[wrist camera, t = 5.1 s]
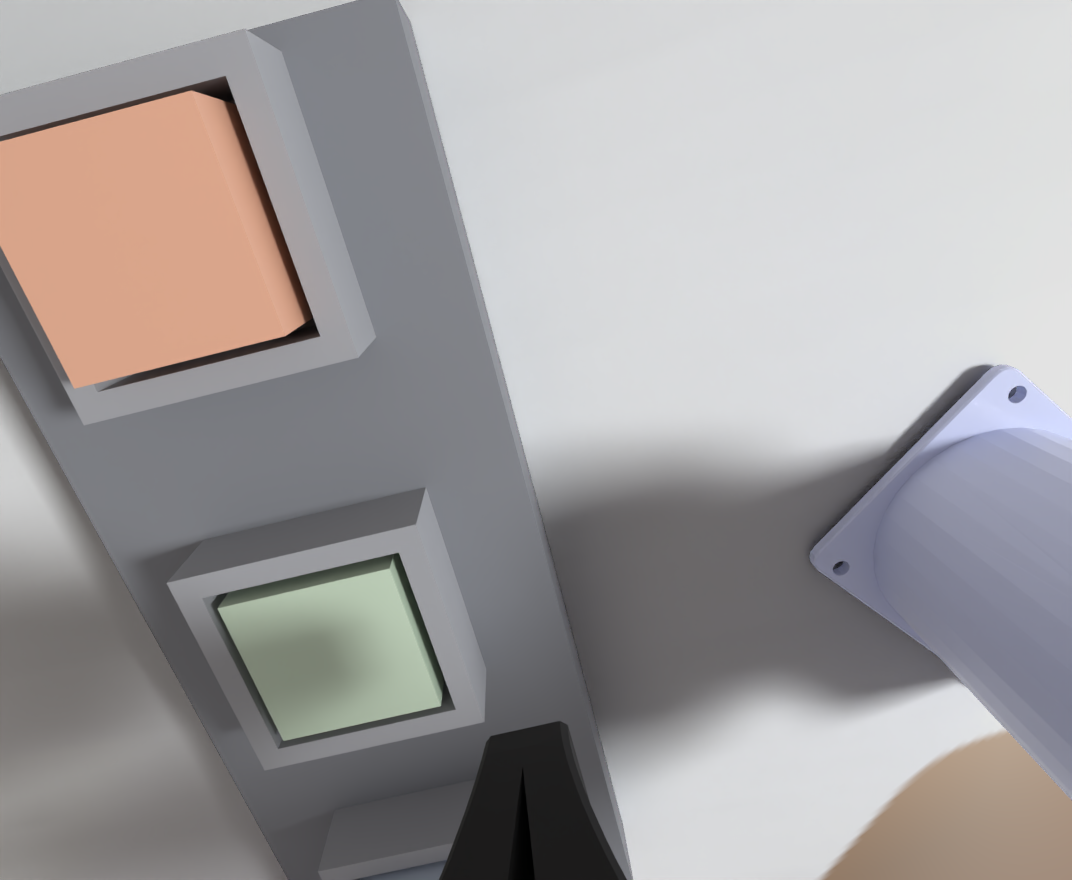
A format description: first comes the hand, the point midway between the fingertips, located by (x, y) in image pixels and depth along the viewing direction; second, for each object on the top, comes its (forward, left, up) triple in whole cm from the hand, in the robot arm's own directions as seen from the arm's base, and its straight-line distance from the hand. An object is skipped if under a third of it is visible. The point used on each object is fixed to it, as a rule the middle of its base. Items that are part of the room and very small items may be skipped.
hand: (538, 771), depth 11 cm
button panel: (+3, +4, -9) cm, 11 cm away
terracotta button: (+11, -2, -6) cm, 12 cm away
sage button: (+3, +4, -7) cm, 8 cm away
